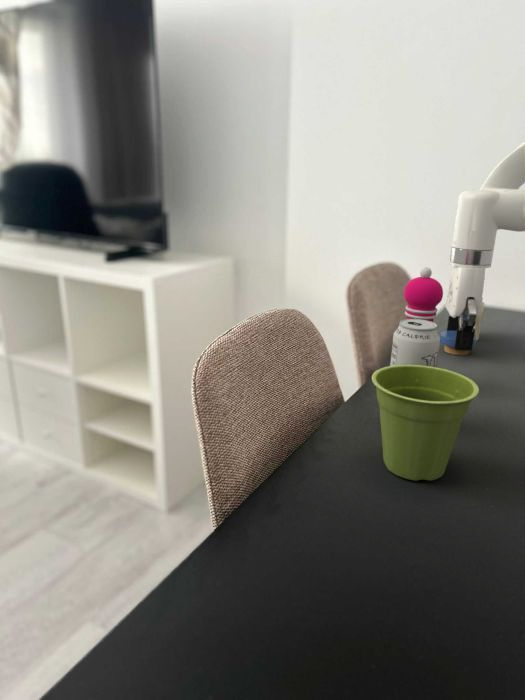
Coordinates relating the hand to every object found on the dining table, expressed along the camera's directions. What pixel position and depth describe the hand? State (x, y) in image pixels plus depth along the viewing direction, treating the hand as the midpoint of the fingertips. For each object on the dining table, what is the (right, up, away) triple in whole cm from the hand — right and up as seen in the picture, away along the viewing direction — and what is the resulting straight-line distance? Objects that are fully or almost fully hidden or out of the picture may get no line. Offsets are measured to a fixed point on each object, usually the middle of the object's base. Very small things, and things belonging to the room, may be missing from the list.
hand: (458, 342), depth 104 cm
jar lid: (0, +1, 0) cm, 1 cm away
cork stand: (0, -2, +1) cm, 2 cm away
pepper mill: (-14, -8, -16) cm, 23 cm away
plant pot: (-21, -16, -41) cm, 49 cm away
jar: (+5, +1, +10) cm, 11 cm away
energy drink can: (-19, -12, -31) cm, 38 cm away
